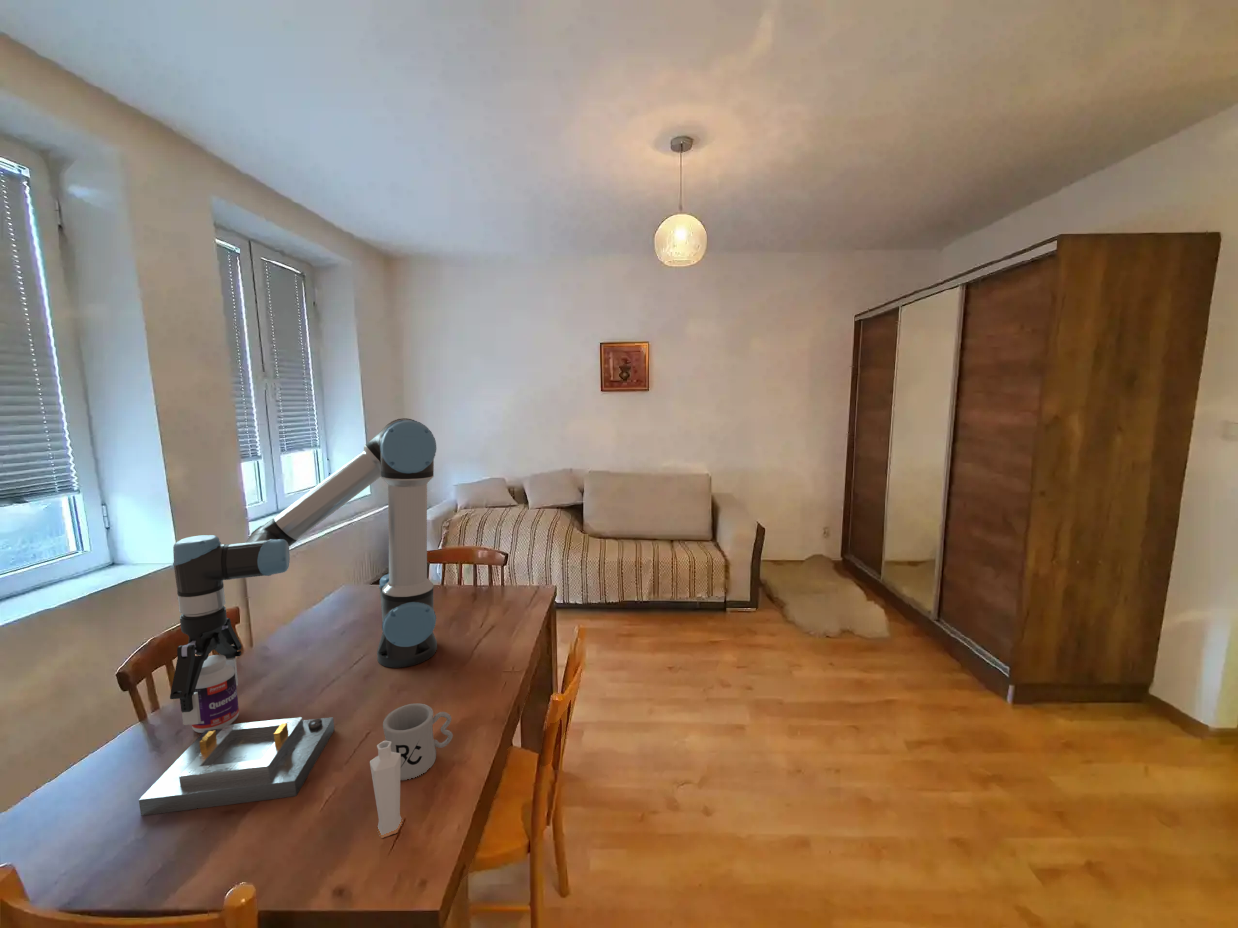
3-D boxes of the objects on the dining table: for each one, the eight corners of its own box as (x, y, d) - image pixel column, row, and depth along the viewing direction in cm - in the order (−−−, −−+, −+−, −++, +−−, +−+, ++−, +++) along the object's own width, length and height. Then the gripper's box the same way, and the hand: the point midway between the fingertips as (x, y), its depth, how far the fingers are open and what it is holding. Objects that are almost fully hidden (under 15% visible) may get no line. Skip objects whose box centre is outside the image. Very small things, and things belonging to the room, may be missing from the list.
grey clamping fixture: (334, 730, 107) (331, 697, 106) (296, 795, 90) (292, 757, 89) (207, 743, 103) (202, 709, 102) (141, 815, 86) (135, 775, 84)
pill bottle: (213, 737, 105) (205, 673, 103) (182, 732, 106) (174, 669, 104) (249, 713, 113) (242, 653, 111) (219, 709, 114) (212, 649, 112)
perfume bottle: (380, 817, 85) (374, 735, 83) (407, 815, 85) (401, 734, 83) (369, 841, 81) (362, 755, 79) (397, 839, 81) (391, 754, 79)
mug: (386, 789, 91) (383, 738, 90) (384, 757, 99) (380, 710, 98) (457, 766, 97) (455, 718, 95) (449, 737, 105) (447, 693, 103)
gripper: (218, 588, 117) (226, 673, 120) (137, 638, 93) (150, 744, 96) (254, 586, 119) (261, 671, 122) (183, 635, 94) (194, 740, 97)
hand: (212, 703), depth 109 cm, fingers open, 13 cm apart
